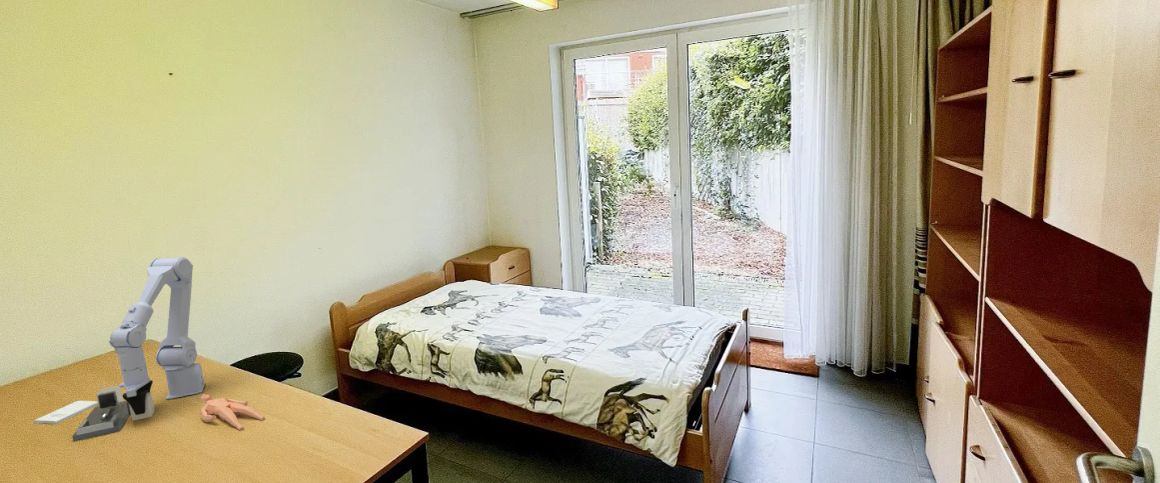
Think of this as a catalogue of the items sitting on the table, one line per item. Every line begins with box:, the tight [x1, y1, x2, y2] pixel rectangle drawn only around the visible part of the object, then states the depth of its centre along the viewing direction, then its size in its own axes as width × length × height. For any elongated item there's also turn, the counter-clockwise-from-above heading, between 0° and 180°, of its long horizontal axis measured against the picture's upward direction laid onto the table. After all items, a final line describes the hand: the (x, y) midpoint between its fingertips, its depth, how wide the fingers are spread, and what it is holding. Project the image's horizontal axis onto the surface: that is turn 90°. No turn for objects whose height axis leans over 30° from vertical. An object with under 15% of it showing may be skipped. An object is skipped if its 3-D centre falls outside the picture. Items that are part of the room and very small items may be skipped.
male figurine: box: [199, 393, 266, 431], centre depth 161 cm, size 11×5×25 cm
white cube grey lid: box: [126, 391, 155, 422], centre depth 163 cm, size 5×4×6 cm
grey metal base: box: [71, 384, 130, 442], centre depth 161 cm, size 10×20×8 cm, turn 27°
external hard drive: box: [32, 400, 99, 425], centre depth 168 cm, size 2×8×12 cm
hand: (142, 410), depth 164 cm, fingers closed on white cube grey lid, 4 cm apart
